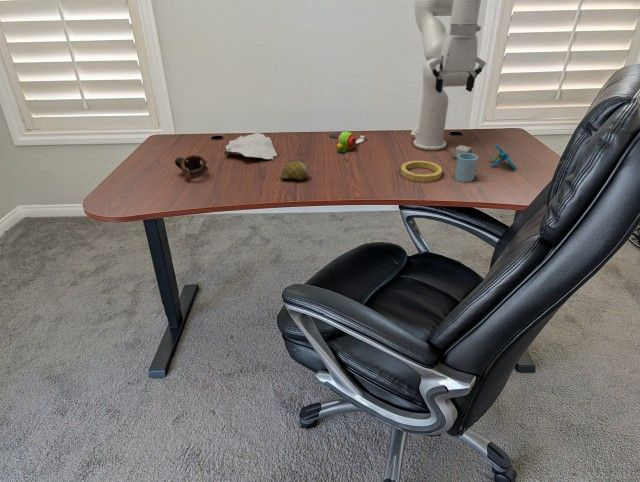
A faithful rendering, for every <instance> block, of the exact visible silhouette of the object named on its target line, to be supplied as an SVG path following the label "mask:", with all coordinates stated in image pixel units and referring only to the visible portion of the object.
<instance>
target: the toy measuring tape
mask: <svg viewBox="0 0 640 482" xmlns="http://www.w3.org/2000/svg"><path fill="white" fill-rule="evenodd" d="M366 139H367V136H365V135H360V136H359V138H358V139H356V137H355V134H354V133H353V132H350V131H346V130H345V131H343V132H341V133H340V135H338V137H337V141H336V142H337V143H336V144H337V145H336V149H337V152H340V153H346V152H348V151H351V150H352V149H354V148H356V147H357V146H358V145H357V144H361V143H363V142H364V141H365V140H366Z"/></svg>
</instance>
